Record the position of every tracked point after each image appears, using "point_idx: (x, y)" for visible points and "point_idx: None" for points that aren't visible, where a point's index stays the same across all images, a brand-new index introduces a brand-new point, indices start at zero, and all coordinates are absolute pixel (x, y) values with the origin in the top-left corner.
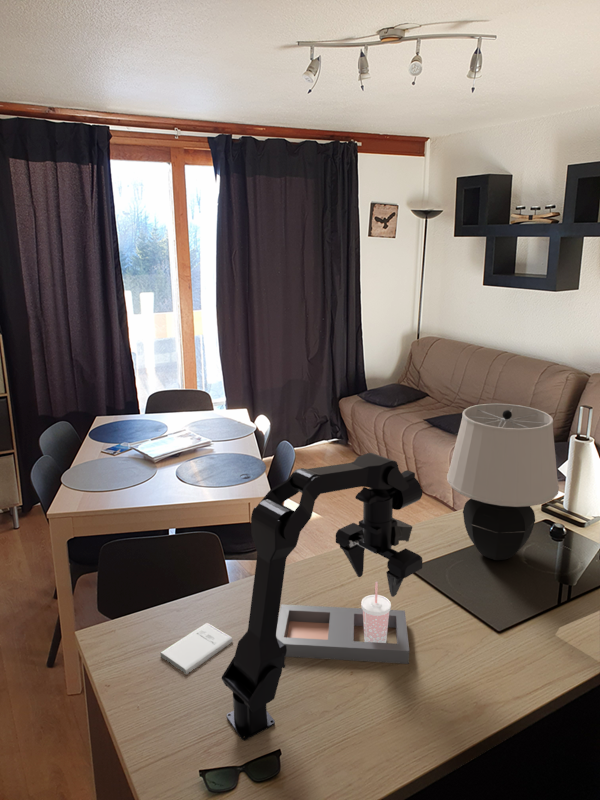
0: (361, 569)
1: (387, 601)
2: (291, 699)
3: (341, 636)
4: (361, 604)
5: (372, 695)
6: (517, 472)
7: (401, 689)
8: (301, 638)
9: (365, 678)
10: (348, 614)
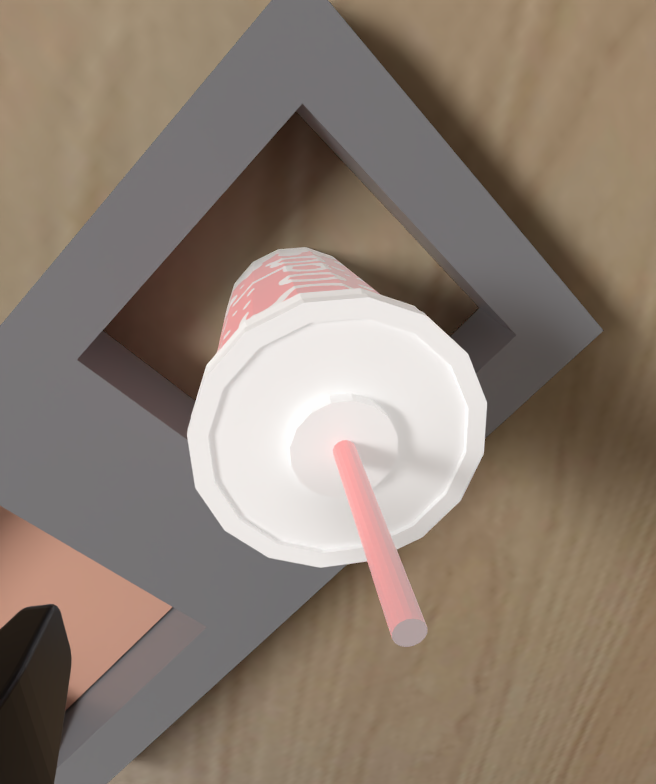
0: (26, 729)
1: (391, 326)
2: (338, 779)
3: (233, 559)
4: (263, 553)
5: (543, 561)
6: None
7: (618, 450)
8: (111, 720)
9: (459, 530)
10: (61, 397)
